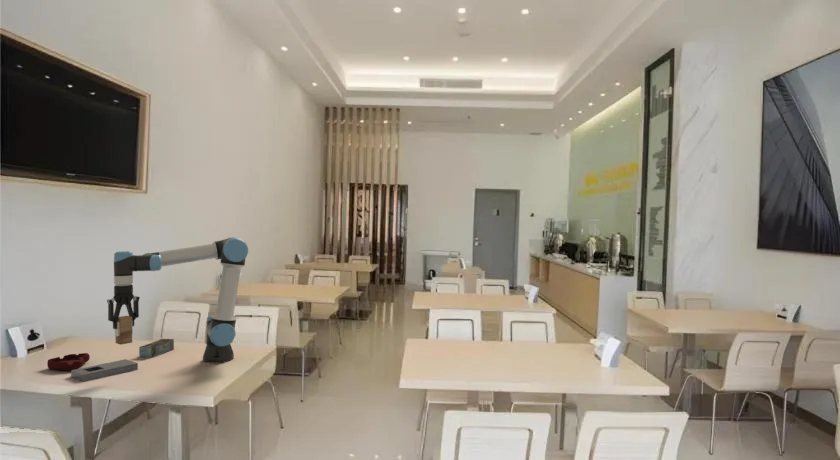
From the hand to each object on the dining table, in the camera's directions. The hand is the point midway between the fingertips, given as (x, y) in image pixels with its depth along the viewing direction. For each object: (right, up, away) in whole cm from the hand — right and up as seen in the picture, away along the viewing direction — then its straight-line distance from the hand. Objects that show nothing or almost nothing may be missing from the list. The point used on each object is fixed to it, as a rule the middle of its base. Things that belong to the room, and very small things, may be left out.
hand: (123, 334), depth 232 cm
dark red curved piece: (-36, -20, +14) cm, 43 cm away
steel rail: (-12, -19, +6) cm, 24 cm away
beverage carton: (-7, -20, +43) cm, 48 cm away
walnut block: (0, -4, 0) cm, 4 cm away
